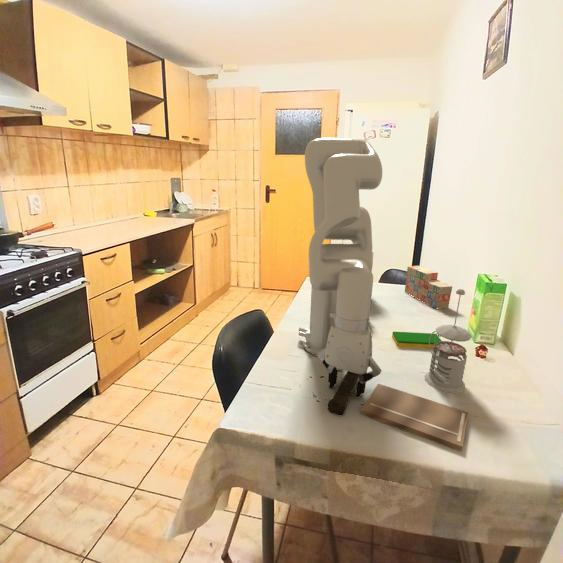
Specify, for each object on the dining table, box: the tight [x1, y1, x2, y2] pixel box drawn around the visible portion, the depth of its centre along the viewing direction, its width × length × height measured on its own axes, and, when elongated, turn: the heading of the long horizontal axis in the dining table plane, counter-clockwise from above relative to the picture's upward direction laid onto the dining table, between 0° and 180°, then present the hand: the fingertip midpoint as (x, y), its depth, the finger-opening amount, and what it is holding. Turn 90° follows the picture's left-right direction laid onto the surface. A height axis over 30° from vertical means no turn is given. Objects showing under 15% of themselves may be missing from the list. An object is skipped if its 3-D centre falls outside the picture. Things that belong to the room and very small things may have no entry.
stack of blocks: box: [404, 265, 453, 310], centre depth 148 cm, size 21×6×12 cm, turn 16°
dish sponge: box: [391, 331, 443, 350], centre depth 111 cm, size 7×14×2 cm, turn 86°
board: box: [360, 383, 469, 452], centre depth 77 cm, size 20×12×1 cm, turn 58°
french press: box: [423, 288, 472, 394], centre depth 88 cm, size 10×12×25 cm
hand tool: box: [326, 371, 359, 417], centre depth 85 cm, size 19×4×5 cm, turn 152°
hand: (345, 389), depth 85 cm, fingers open, 6 cm apart
